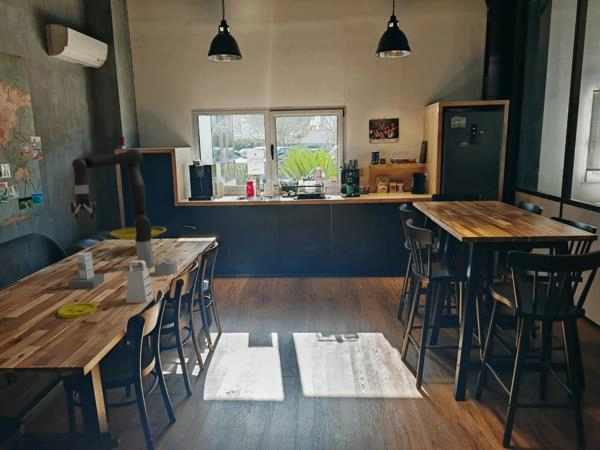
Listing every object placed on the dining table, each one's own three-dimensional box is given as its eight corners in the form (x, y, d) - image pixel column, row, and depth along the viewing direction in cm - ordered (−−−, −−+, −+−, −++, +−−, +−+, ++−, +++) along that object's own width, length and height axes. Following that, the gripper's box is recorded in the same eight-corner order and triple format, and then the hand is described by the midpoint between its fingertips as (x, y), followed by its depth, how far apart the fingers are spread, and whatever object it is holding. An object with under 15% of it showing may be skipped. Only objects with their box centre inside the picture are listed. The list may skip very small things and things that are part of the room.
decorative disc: (57, 321, 213) (57, 317, 213) (59, 309, 229) (59, 305, 229) (97, 315, 220) (97, 311, 220) (96, 304, 236) (96, 300, 236)
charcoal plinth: (104, 280, 274) (103, 274, 273) (93, 288, 260) (93, 281, 259) (80, 281, 274) (79, 274, 273) (68, 288, 260) (68, 281, 259)
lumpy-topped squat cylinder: (156, 271, 292) (155, 258, 291) (177, 270, 295) (176, 256, 293) (154, 276, 282) (153, 262, 281) (176, 274, 285) (175, 260, 283)
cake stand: (179, 248, 356) (178, 228, 353) (135, 259, 322) (133, 238, 320) (143, 242, 377) (142, 224, 374) (99, 253, 344) (97, 233, 341)
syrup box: (94, 276, 268) (92, 252, 266) (86, 279, 263) (84, 254, 260) (86, 276, 270) (83, 251, 267) (78, 279, 264) (76, 253, 262)
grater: (133, 295, 247) (130, 258, 243) (153, 295, 246) (150, 258, 243) (126, 302, 236) (122, 264, 233) (146, 302, 236) (143, 264, 232)
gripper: (96, 191, 282) (99, 218, 285) (72, 192, 281) (75, 218, 284) (91, 193, 274) (94, 220, 277) (67, 193, 274) (70, 220, 277)
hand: (85, 219), depth 281 cm, fingers open, 8 cm apart
